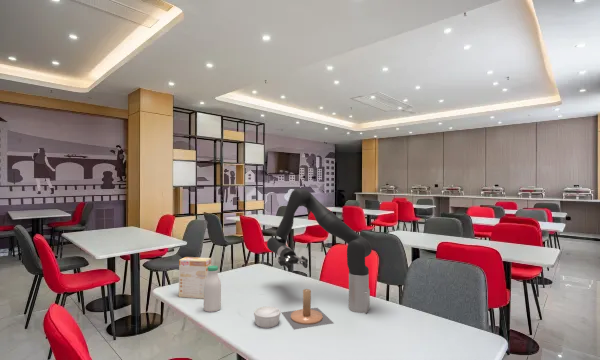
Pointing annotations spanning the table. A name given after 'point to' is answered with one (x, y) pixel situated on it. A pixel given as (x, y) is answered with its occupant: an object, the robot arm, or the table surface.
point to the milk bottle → (212, 290)
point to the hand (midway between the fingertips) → (298, 266)
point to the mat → (299, 326)
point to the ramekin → (267, 316)
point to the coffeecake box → (193, 276)
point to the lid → (306, 311)
